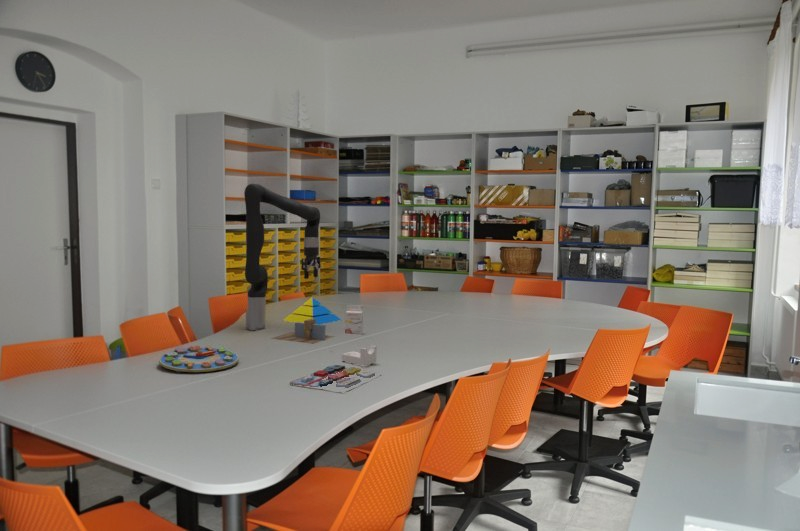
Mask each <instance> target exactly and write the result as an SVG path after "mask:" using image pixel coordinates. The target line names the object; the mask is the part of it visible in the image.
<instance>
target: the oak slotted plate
mask: <svg viewBox="0 0 800 531" xmlns="http://www.w3.org/2000/svg"><path fill="white" fill-rule="evenodd" d="M313 324H316V319H308V320H304V339H308V340H309V339H310V331H312V325H313Z"/></svg>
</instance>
